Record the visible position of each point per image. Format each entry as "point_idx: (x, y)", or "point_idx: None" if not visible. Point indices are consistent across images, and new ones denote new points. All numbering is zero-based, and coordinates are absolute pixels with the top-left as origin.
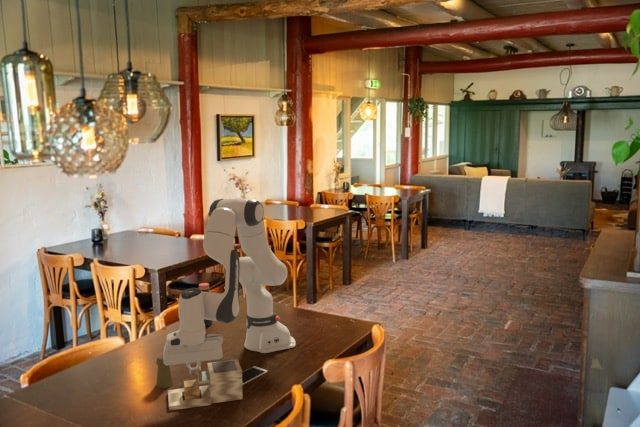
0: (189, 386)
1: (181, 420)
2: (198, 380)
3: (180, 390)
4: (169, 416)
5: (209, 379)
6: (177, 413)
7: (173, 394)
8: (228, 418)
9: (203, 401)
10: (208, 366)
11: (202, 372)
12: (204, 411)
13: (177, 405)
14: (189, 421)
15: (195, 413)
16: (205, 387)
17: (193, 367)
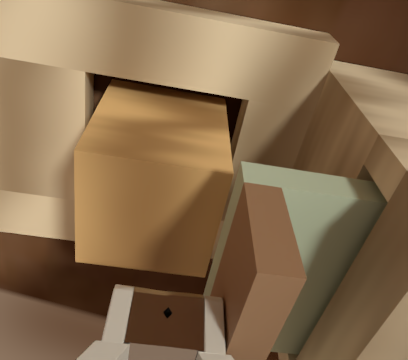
0: (118, 265)
1: (74, 304)
2: (225, 198)
3: (72, 35)
4: (11, 260)
5: (292, 346)
6: (55, 251)
7: (8, 86)
8: (276, 352)
9: (211, 255)
10: (386, 325)
11: (298, 210)
12: (198, 281)
13: (47, 236)
14: None
15: (149, 281)
16: (301, 80)
17: (162, 348)
